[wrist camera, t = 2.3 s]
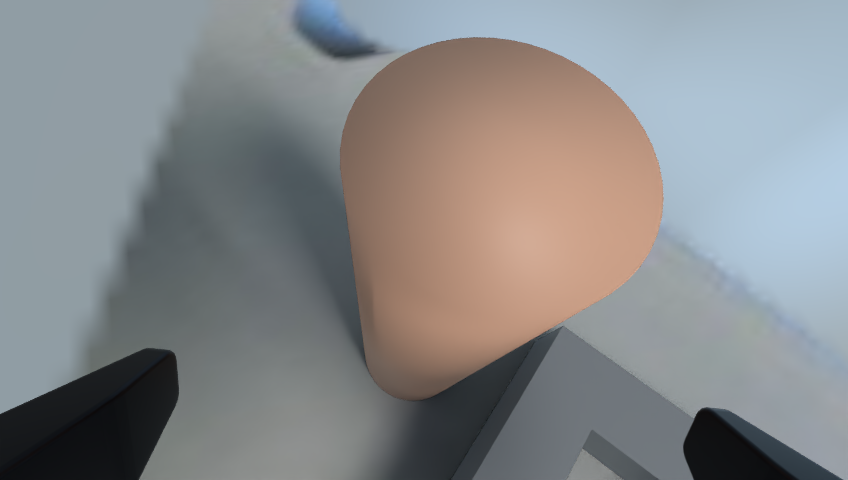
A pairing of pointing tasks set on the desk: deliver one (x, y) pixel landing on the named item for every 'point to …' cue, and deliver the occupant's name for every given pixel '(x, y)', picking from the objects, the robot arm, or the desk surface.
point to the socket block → (577, 420)
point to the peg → (487, 205)
